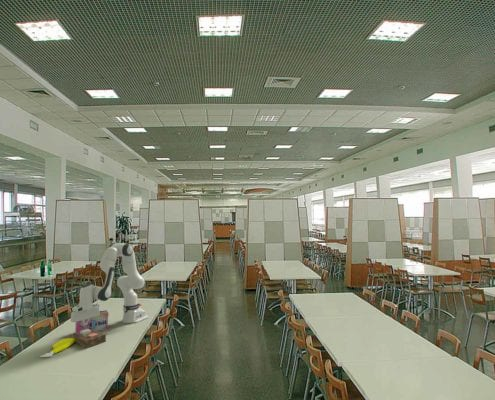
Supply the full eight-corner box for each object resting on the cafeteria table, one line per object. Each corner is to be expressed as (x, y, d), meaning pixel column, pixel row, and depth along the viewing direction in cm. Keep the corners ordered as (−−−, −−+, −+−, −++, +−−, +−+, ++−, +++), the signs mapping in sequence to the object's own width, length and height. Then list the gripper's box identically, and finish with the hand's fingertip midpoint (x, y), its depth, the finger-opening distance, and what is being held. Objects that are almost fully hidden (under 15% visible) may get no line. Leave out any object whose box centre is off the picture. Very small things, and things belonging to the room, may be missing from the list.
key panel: (91, 335, 235) (91, 329, 236) (105, 341, 224) (105, 334, 224) (72, 342, 224) (72, 335, 224) (86, 348, 213) (86, 340, 213)
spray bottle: (76, 341, 223) (54, 358, 198) (61, 342, 223) (37, 359, 199) (76, 337, 223) (54, 354, 198) (61, 338, 223) (37, 354, 199)
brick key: (94, 338, 225) (94, 332, 225) (98, 339, 222) (98, 334, 222) (87, 340, 221) (87, 335, 221) (91, 342, 218) (91, 336, 218)
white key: (87, 334, 231) (87, 328, 231) (90, 335, 228) (90, 330, 228) (80, 336, 226) (80, 331, 226) (83, 337, 223) (83, 332, 224)
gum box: (107, 326, 256) (107, 309, 257) (109, 328, 250) (109, 312, 251) (75, 332, 243) (75, 315, 243) (76, 335, 236) (76, 317, 237)
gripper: (97, 302, 238) (96, 320, 237) (69, 308, 222) (69, 328, 221) (101, 303, 235) (101, 322, 234) (74, 310, 218) (73, 329, 217)
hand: (85, 325), depth 227 cm, fingers closed
